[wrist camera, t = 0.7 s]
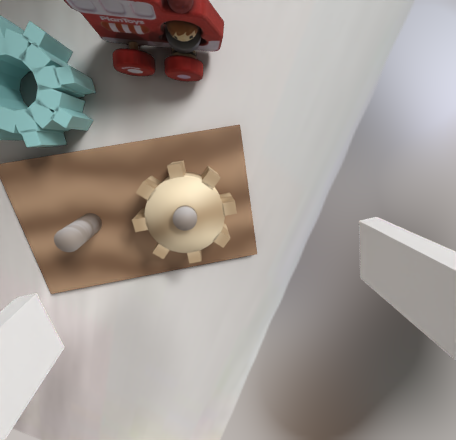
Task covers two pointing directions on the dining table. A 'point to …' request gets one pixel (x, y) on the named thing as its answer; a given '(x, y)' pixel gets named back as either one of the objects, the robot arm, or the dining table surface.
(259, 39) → the dining table surface
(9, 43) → the teal gear
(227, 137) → the gear board
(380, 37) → the dining table surface
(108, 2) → the toy fire truck
